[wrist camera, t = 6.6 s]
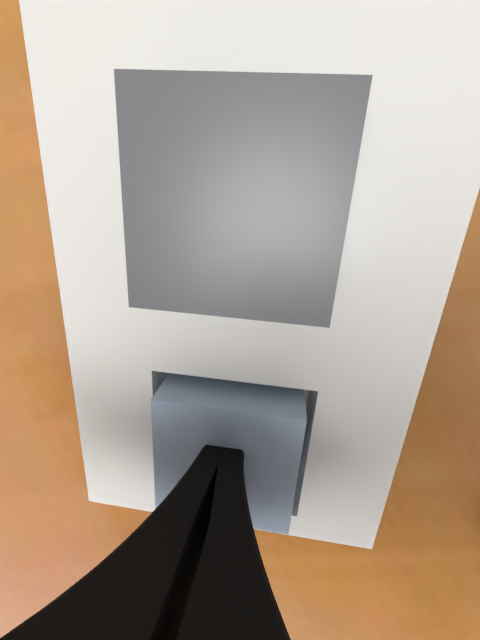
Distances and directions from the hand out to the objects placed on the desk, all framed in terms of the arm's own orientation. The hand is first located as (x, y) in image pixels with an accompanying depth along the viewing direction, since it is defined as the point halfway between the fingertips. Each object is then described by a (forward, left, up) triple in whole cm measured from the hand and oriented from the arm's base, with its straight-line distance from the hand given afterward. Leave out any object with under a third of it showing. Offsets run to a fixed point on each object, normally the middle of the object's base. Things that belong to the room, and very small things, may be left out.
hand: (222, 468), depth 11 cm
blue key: (0, 0, -3) cm, 3 cm away
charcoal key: (0, -8, -2) cm, 9 cm away
